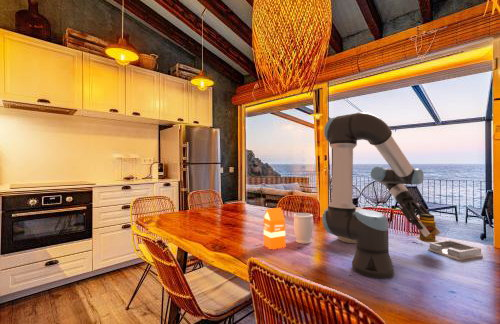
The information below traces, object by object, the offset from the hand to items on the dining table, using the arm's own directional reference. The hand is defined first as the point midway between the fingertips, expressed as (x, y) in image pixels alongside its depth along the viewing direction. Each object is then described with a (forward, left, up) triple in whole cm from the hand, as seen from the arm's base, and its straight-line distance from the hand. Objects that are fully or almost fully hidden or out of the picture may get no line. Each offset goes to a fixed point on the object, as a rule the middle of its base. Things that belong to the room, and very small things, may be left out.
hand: (433, 234), depth 112 cm
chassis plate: (+13, 0, -10) cm, 16 cm away
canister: (-20, +32, -10) cm, 39 cm away
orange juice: (-63, +37, -10) cm, 74 cm away
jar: (-45, +39, -10) cm, 60 cm away
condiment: (0, +4, -4) cm, 5 cm away
